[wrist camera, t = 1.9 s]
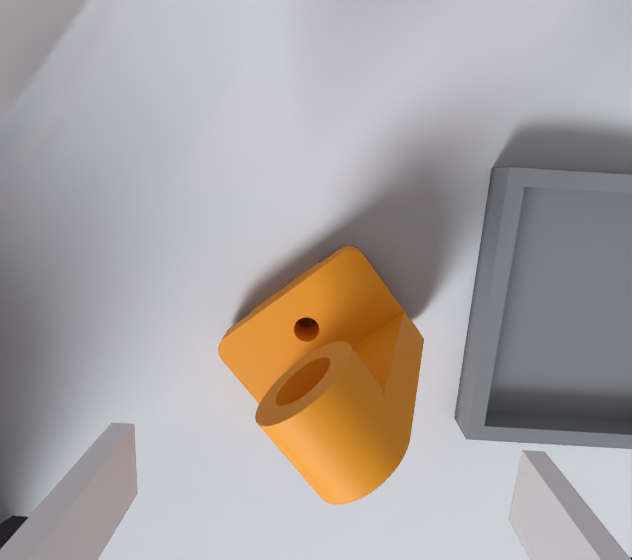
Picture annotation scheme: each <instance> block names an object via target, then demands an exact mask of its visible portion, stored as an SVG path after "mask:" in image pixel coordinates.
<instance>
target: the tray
mask: <svg viewBox="0 0 632 560" xmlns="http://www.w3.org/2000/svg"><path fill="white" fill-rule="evenodd" d="M454 418H455V420H456V422H457V424H458V425H459V427H460V429H461V431H462V432H463V434H464V436H465V438H466V439H472V440H488V441H505V442H522V443H539V444H556V445H573V446H590V447H607V448H624V449H632V175H630V174H614V173H597V172H581V171H565V170H549V169H533V168H517V167H503V168H492V171H491V177H490V184H489V191H488V197H487V204H486V211H485V217H484V224H483V231H482V237H481V244H480V251H479V257H478V264H477V271H476V277H475V284H474V291H473V297H472V304H471V311H470V317H469V324H468V331H467V337H466V344H465V351H464V357H463V364H462V371H461V377H460V384H459V391H458V397H457V404H456V411H455V417H454Z"/></svg>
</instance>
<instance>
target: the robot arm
mask: <svg viewBox="0 0 632 560" xmlns="http://www.w3.org/2000/svg"><path fill="white" fill-rule="evenodd" d="M136 495H137V475H136V452H135V430H134V424H125V423H111V424H110V425H109V426H108V428H107V429H106V430H105V431H104V432H103V433H102V434H101V436H100V437H99V438H98V439H97V440H96V441H95V442H94V443H93V445H92V446H91V447H90V448H89V449H88V450H87V451H86V453H85V454H84V455H83V456H82V457H81V458H80V459H79V461H78V462H77V463H76V464H75V465H74V466H73V467H72V469H71V470H70V471H69V472H68V473H67V474H66V475H65V476H64V478H63V479H62V480H61V481H60V482H59V483H58V484H57V486H56V487H55V488H54V489H53V490H52V491H51V492H50V494H49V495H48V496H47V497H46V498H45V499H44V500H43V502H42V503H41V504H40V505H39V506H38V507H37V508H36V509H35V511H34V512H33V513H32V514H31V515H30V516H29V517H22V516H12V517H10V518H9V519H7V520H6V521H4V522H3V523H1V524H0V560H98V558H99V557H100V555H101V553H102V552H103V550H104V548H105V547H106V545H107V543H108V542H109V540H110V538H111V537H112V535H113V533H114V532H115V530H116V528H117V527H118V525H119V523H120V522H121V520H122V518H123V517H124V515H125V513H126V512H127V510H128V508H129V507H130V505H131V503H132V502H133V500H134V498H135V497H136ZM509 521H510V523H511V525H512V527H513V528H514V530H515V532H516V534H517V536H518V538H519V540H520V541H521V543H522V545H523V547H524V549H525V551H526V553H527V555H528V556H529V558H530V560H632V557H629V556H628V555H627V554H626V553H625V551H624V550H623V549H622V548H621V546H620V545H619V544H618V543H617V541H616V540H615V539H614V538H613V536H612V535H611V534H610V533H609V531H608V530H607V529H606V528H605V526H604V525H603V524H602V523H601V521H600V520H599V519H598V518H597V516H596V515H595V514H594V513H593V511H592V510H591V509H590V508H589V506H588V505H587V504H586V503H585V501H584V500H583V499H582V498H581V496H580V495H579V494H578V493H577V491H576V490H575V489H574V488H573V486H572V485H571V484H570V483H569V481H568V480H567V479H566V478H565V476H564V475H563V474H562V473H561V471H560V470H559V469H558V468H557V466H556V465H555V464H554V463H553V461H552V460H551V459H550V458H549V456H548V455H547V454H546V453H545V452H542V451H527V450H522V453H521V458H520V463H519V468H518V473H517V478H516V483H515V488H514V493H513V499H512V504H511V509H510V514H509Z"/></svg>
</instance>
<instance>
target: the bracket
mask: <svg viewBox="0 0 632 560" xmlns="http://www.w3.org/2000/svg"><path fill="white" fill-rule="evenodd" d="M305 317H308V318H312V319H314V320H315V321H316V322H317V323H316V324H315V325H314V326H312V327H304V326H302V325H300V324H299V323H298V320H299V319H301V318H305ZM423 342H424V339H423V337H422V335H421V334H420V332H419V331H418V329H417V328H416V326H415V325H414V324H413V322H412V321H411V320H410V318H409V317H408V315H407V314H406V313H405V311H404V310H403V308H402V307H401V306H400V304H399V303H398V302H397V300H396V299H395V297H394V296H393V295H392V293H391V292H390V290H389V289H388V288H387V286H386V285H385V284H384V282H383V281H382V279H381V278H380V277H379V275H378V274H377V272H376V271H375V270H374V268H373V267H372V265H371V264H370V263H369V261H368V260H367V259H366V257H365V256H364V254H363V253H362V252H361V251H360V250H359V249H358V248H356V247H353V246H345V247H342V248H340V249H339V250H337V251H336V252H334V253H333V254H332V255H330V256H329V257H328V258H326V259H325V260H323V261H322V262H321V263H320V262H317V263H316V264H315V265H313V266H312V267H311V268H309V269H308V270H306V271H305V272H304V273H302V274H301V275H299V276H298V277H297V278H295V279H294V280H293V281H291V282H290V283H288V284H287V285H286V286H284V287H283V288H281V289H280V290H279V291H277V292H276V293H275V294H273V295H272V296H270V297H269V298H268V299H266V300H265V301H263V302H262V303H261V304H259V305H258V306H257V307H255V308H254V309H252V310H251V312H250V314H249V315H247V316H246V317H244V318H243V319H242V320H240V321H239V322H237V323H236V324H235V325H233V326H232V327H231V328H229V329H228V331H227V332H226V334H225V335H224V337H223V339H222V340H221V342H220V344H219V347H218V352H219V356H220V357H221V359H222V360H223V361H224V363H225V364H226V365H227V366H228V367H229V369H230V370H231V371H232V372H233V373H234V374H235V376H236V377H237V378H238V379H239V380H240V382H241V383H242V384H243V385H244V386H245V388H246V389H247V390H248V391H249V392H250V393H251V395H252V396H253V397H254V398H255V399H256V401H257V402H258V403H259V406H258V408H257V411H256V416H255V418H256V422H257V423H258V425H259V426H260V427H261V428H262V429H263V431H264V432H265V433H266V434H267V435H268V436H269V438H270V439H271V440H272V441H273V442H274V443H275V445H276V446H277V447H278V448H279V449H280V450H281V452H282V453H283V454H284V455H285V456H286V457H287V459H288V460H289V461H290V462H291V463H292V464H293V466H294V467H295V468H296V469H297V470H298V471H299V473H300V474H301V475H302V476H303V477H304V479H305V480H306V481H307V482H308V483H309V484H310V486H311V487H312V488H313V489H314V490H315V491H316V493H317V494H318V495H319V496H320V497H321V498H322V499H323V500H324V501H326V502H328V503H331V504H346V503H350V502H353V501H356V500H358V499H360V498H362V497H364V496H366V495H368V494H369V493H371V492H372V491H374V490H375V489H376V488H378V487H379V486H380V485H381V484H382V483H383V482H385V480H386V479H387V478H388V477H389V476H390V475H391V474H392V473H393V472H394V471H395V469H396V468H397V467H398V465H399V464H400V462H401V460H402V459H403V457H404V455H405V453H406V450H407V448H408V445H409V441H410V435H411V428H412V421H413V414H414V407H415V400H416V392H417V385H418V378H419V371H420V364H421V357H422V350H423Z"/></svg>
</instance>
